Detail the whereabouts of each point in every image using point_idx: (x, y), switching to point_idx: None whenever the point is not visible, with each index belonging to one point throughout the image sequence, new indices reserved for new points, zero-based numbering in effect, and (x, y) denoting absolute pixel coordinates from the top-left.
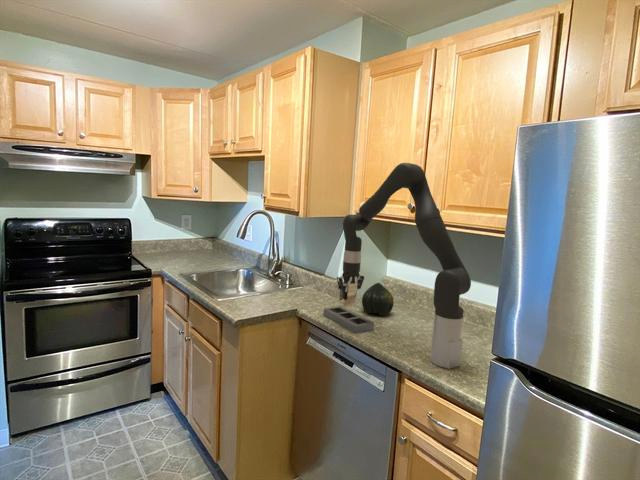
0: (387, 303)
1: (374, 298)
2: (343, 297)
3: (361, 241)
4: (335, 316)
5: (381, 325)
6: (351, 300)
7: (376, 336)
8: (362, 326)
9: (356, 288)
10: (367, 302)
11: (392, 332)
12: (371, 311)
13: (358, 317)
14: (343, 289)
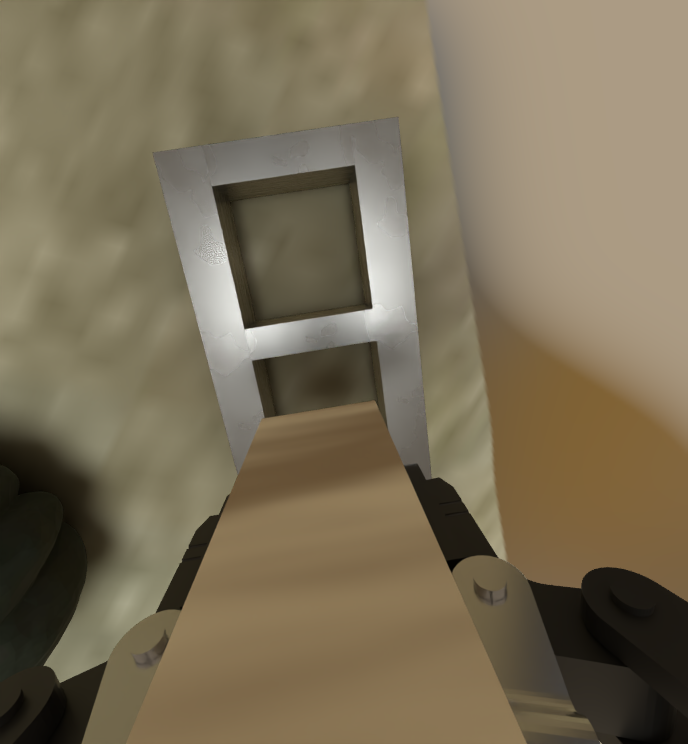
0: None
1: None
2: (454, 500)
3: None
4: (424, 429)
5: (63, 253)
6: (321, 442)
7: (227, 9)
8: (308, 136)
9: (137, 674)
10: (18, 571)
11: (21, 54)
12: (41, 492)
13: (249, 341)
14: (629, 596)
